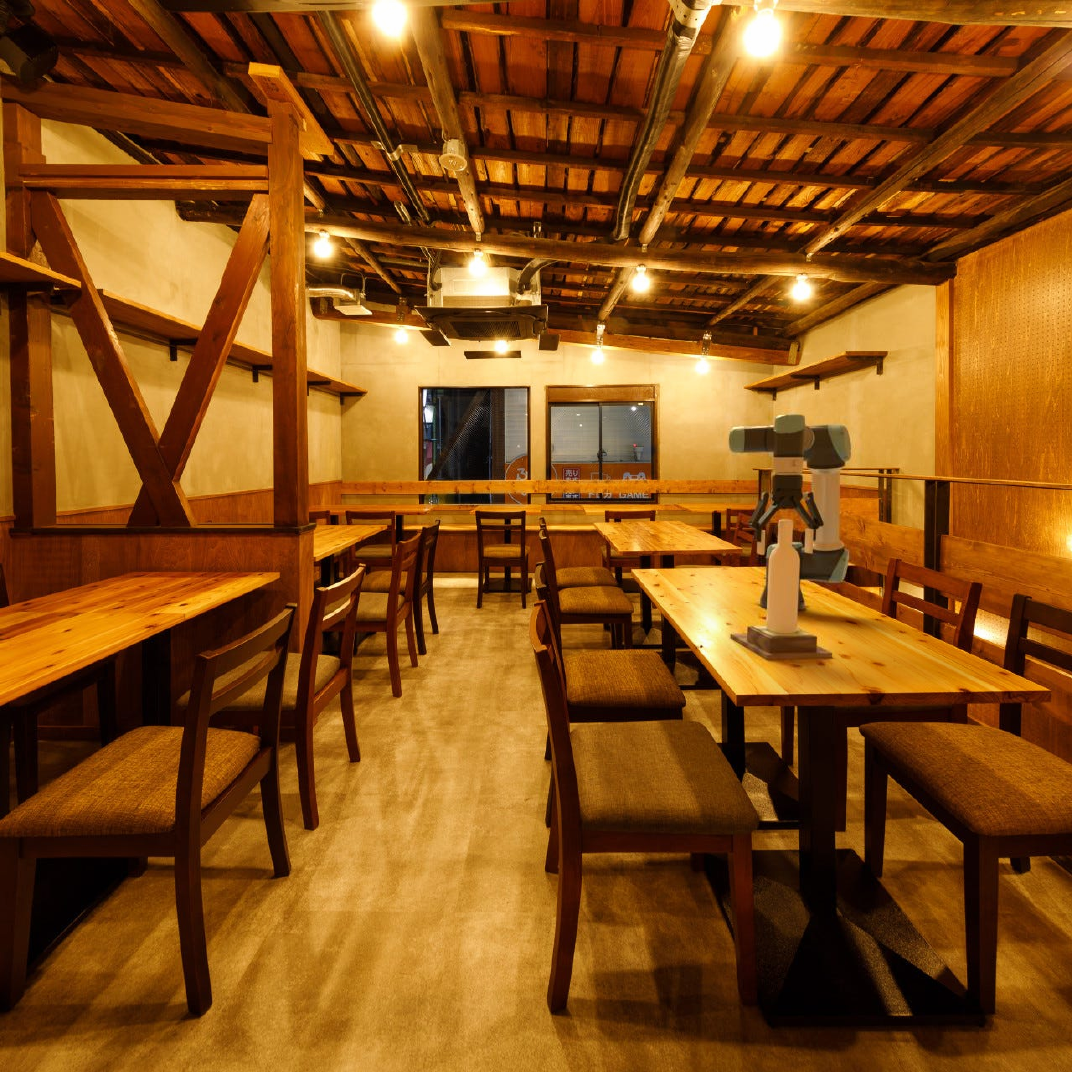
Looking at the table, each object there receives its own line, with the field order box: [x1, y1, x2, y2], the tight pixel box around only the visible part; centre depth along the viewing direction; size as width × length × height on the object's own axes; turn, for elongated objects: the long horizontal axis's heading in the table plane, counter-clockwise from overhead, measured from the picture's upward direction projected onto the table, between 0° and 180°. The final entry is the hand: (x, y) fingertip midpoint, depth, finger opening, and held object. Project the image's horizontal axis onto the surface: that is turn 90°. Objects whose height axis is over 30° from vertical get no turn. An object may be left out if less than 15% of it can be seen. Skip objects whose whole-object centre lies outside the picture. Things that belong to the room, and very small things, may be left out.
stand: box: [729, 625, 833, 661], centre depth 174 cm, size 22×18×6 cm
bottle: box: [765, 519, 800, 634], centre depth 169 cm, size 8×8×30 cm
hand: (784, 553), depth 169 cm, fingers open, 13 cm apart
